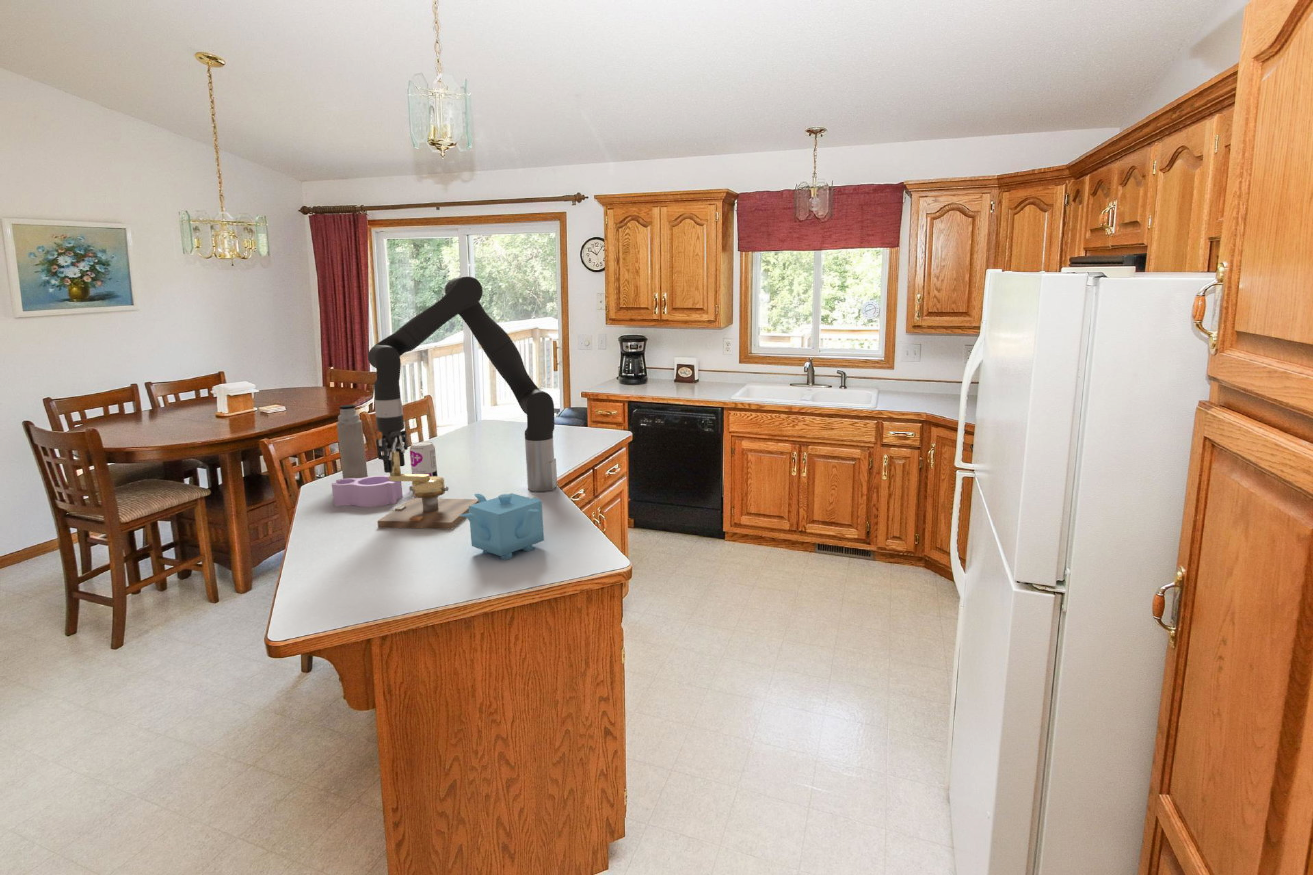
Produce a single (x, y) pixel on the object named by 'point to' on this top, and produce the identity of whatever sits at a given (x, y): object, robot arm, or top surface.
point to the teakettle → (505, 524)
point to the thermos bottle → (351, 443)
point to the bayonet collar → (418, 480)
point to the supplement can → (423, 458)
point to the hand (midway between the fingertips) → (394, 468)
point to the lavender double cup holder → (366, 491)
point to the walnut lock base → (427, 513)
